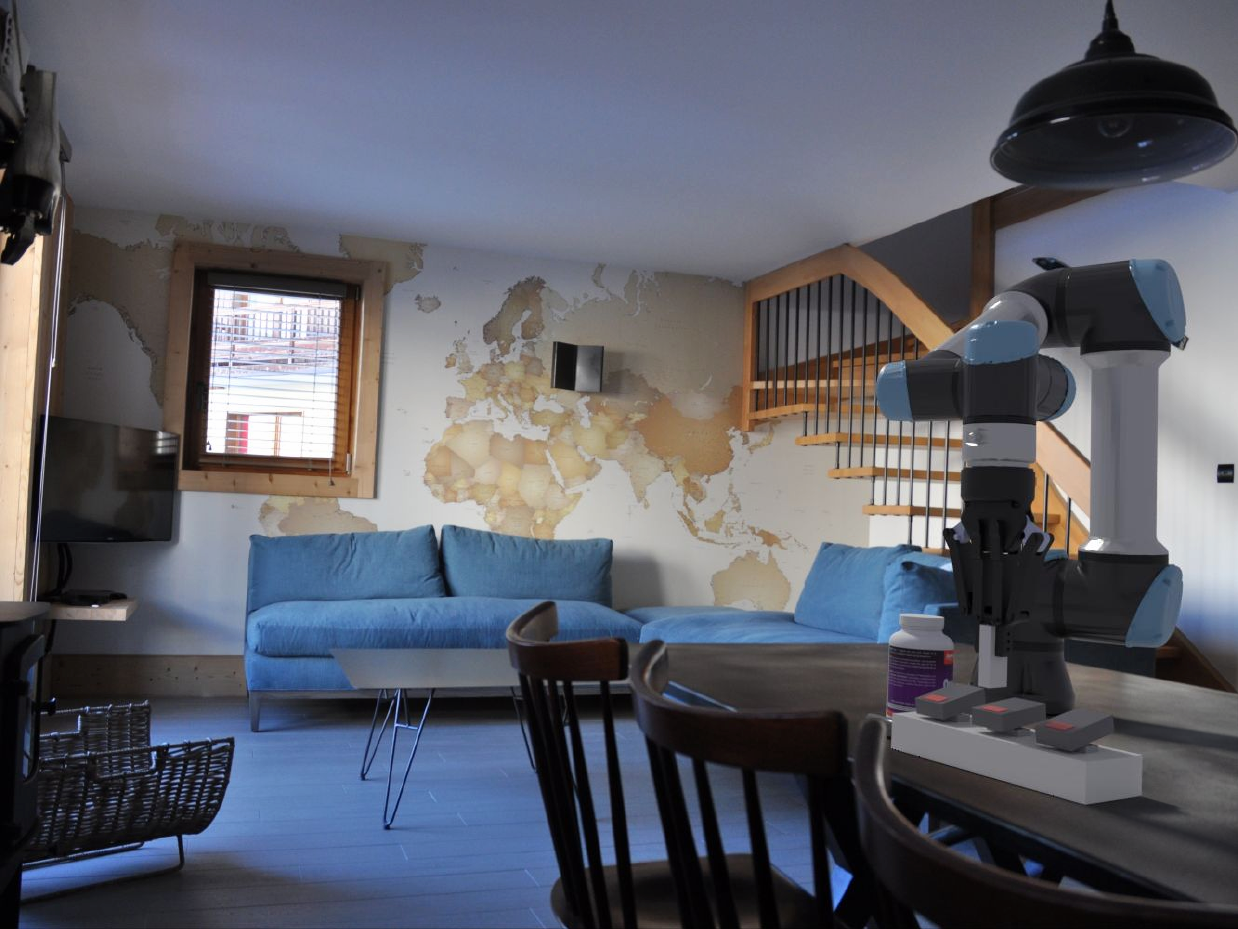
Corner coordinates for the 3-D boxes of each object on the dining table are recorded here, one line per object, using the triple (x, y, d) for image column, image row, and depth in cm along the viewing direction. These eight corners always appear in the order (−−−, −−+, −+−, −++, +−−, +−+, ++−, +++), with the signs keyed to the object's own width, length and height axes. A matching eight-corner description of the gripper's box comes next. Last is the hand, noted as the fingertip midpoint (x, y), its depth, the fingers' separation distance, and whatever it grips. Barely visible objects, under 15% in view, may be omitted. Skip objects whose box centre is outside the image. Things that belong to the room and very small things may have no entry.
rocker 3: (1079, 724, 110) (1077, 706, 110) (1114, 732, 107) (1112, 714, 107) (1036, 742, 107) (1034, 724, 106) (1071, 751, 103) (1069, 732, 103)
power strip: (895, 729, 133) (897, 692, 133) (1141, 795, 105) (1142, 748, 105) (842, 734, 128) (844, 695, 129) (1084, 804, 100) (1086, 754, 100)
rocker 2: (1015, 713, 117) (1014, 696, 117) (1046, 720, 114) (1045, 703, 114) (972, 724, 113) (971, 706, 113) (1002, 731, 110) (1002, 713, 110)
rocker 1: (958, 697, 124) (956, 682, 124) (985, 703, 120) (984, 687, 120) (916, 713, 120) (914, 697, 120) (943, 720, 117) (942, 703, 117)
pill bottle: (954, 738, 130) (958, 620, 130) (887, 732, 131) (891, 616, 132) (947, 726, 138) (951, 615, 138) (884, 720, 139) (888, 611, 140)
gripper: (927, 464, 117) (920, 678, 116) (1026, 463, 106) (1020, 699, 105) (973, 468, 121) (967, 674, 120) (1073, 466, 110) (1068, 695, 109)
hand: (992, 686), depth 112 cm, fingers closed
